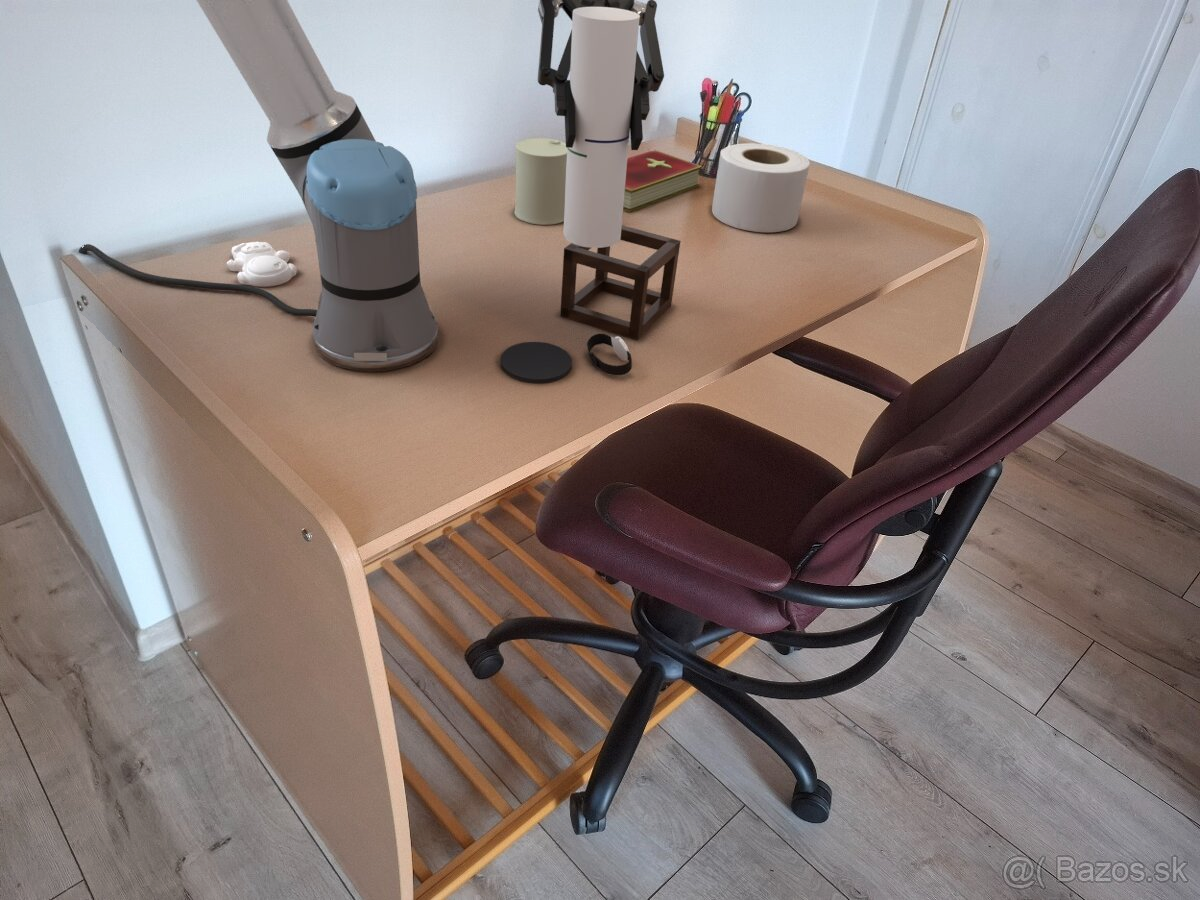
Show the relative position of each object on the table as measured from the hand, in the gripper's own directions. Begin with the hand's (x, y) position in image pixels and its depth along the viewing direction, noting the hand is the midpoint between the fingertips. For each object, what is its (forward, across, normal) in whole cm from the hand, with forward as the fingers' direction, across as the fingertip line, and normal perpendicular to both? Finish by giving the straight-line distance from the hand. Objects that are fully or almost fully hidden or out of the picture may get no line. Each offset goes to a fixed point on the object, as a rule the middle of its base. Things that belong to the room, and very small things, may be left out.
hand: (604, 142), depth 94 cm
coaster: (+22, +7, -16) cm, 27 cm away
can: (-12, +2, -50) cm, 51 cm away
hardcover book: (-22, -19, -59) cm, 65 cm away
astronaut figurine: (+3, +44, -35) cm, 56 cm away
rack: (+12, -6, -25) cm, 28 cm away
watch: (+22, -2, -15) cm, 27 cm away
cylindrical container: (+7, 0, -12) cm, 13 cm away
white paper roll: (-13, -37, -50) cm, 64 cm away
